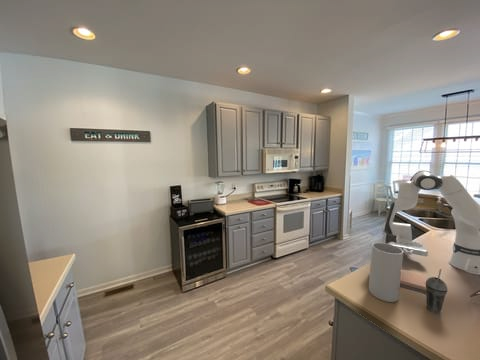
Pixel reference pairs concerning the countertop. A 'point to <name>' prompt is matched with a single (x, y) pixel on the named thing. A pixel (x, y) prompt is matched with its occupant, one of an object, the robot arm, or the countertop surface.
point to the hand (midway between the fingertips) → (408, 253)
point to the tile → (413, 279)
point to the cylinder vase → (385, 271)
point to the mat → (412, 288)
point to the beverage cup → (435, 293)
